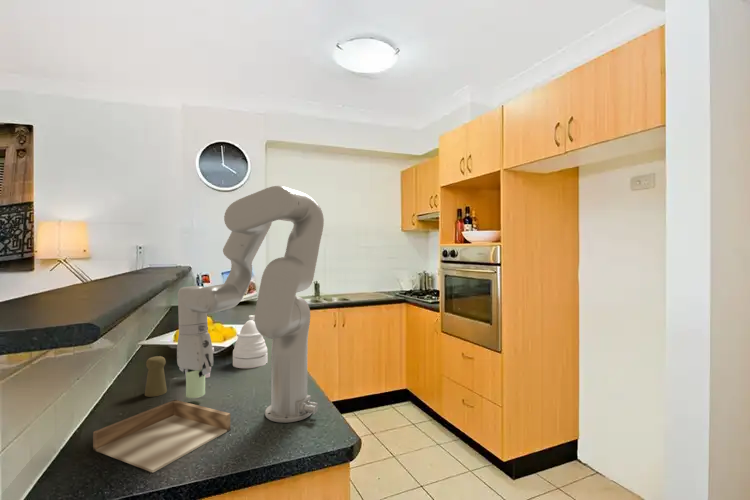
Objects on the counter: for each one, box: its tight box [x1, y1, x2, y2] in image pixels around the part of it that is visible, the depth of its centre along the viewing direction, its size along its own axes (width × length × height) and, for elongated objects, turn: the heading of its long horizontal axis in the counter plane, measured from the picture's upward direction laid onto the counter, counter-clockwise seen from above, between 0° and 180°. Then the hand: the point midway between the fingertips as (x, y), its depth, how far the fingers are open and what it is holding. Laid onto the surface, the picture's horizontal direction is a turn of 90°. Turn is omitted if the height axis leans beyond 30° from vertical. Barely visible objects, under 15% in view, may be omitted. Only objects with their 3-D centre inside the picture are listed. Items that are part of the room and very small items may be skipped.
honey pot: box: [232, 314, 269, 369], centre depth 149 cm, size 13×13×18 cm
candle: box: [185, 368, 206, 399], centre depth 111 cm, size 5×5×8 cm
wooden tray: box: [92, 399, 231, 474], centre depth 89 cm, size 20×20×4 cm
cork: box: [144, 355, 168, 398], centre depth 118 cm, size 6×6×11 cm
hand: (195, 392), depth 111 cm, fingers closed on candle, 1 cm apart
